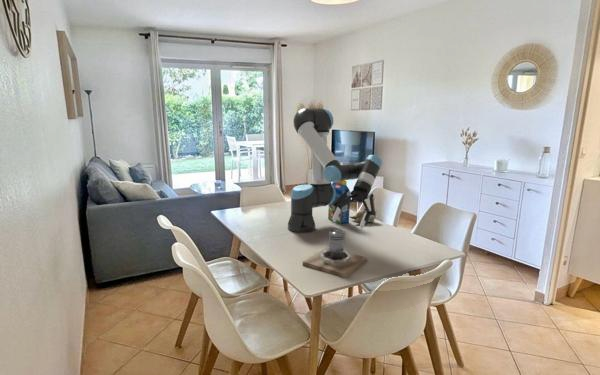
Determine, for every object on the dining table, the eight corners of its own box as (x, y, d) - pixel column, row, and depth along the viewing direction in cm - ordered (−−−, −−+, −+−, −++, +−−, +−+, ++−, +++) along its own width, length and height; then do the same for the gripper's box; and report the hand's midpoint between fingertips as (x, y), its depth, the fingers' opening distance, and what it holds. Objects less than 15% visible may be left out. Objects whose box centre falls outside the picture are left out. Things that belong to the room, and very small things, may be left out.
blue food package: (336, 217, 216) (337, 177, 211) (349, 222, 206) (350, 180, 201) (327, 219, 213) (329, 178, 208) (340, 224, 203) (342, 181, 198)
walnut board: (302, 264, 148) (302, 261, 148) (326, 250, 164) (326, 247, 164) (345, 277, 137) (345, 274, 137) (366, 260, 153) (367, 257, 153)
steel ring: (315, 260, 149) (315, 256, 149) (330, 251, 159) (330, 247, 158) (341, 267, 142) (341, 263, 142) (354, 258, 152) (354, 253, 152)
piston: (325, 259, 150) (326, 232, 147) (332, 254, 155) (333, 228, 152) (338, 263, 146) (340, 236, 144) (346, 258, 152) (347, 231, 149)
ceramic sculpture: (379, 210, 202) (353, 211, 200) (379, 224, 203) (353, 226, 202) (373, 205, 212) (349, 207, 211) (373, 219, 214) (349, 221, 213)
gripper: (391, 193, 160) (375, 234, 151) (342, 185, 174) (325, 222, 165) (388, 183, 154) (371, 225, 146) (337, 176, 168) (319, 214, 160)
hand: (346, 223), depth 155 cm, fingers open, 13 cm apart
